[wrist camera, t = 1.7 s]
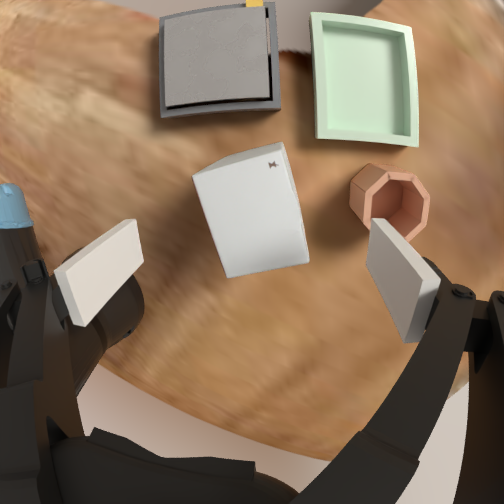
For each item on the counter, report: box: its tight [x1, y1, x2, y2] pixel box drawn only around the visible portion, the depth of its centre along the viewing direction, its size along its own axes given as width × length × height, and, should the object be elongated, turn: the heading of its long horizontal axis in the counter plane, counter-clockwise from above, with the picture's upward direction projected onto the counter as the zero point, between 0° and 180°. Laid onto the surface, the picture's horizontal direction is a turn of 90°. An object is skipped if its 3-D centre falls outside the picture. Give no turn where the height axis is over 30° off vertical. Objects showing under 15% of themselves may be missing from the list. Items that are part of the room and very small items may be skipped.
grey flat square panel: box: [164, 6, 270, 107], centre depth 22 cm, size 10×10×1 cm
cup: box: [349, 163, 430, 242], centre depth 27 cm, size 7×7×6 cm
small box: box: [192, 142, 309, 278], centre depth 25 cm, size 8×6×13 cm
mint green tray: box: [309, 12, 419, 147], centre depth 23 cm, size 11×14×2 cm
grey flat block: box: [159, 0, 281, 118], centre depth 23 cm, size 12×12×4 cm
